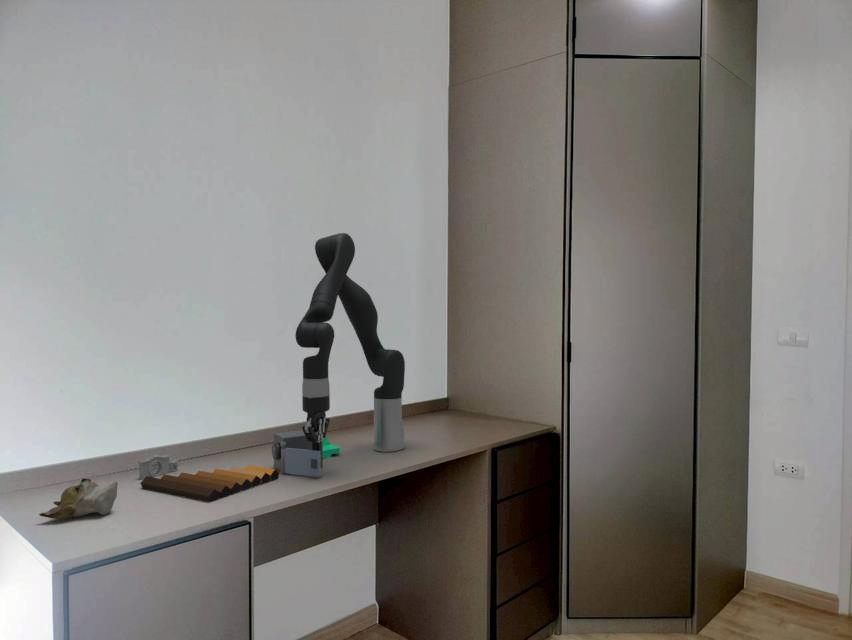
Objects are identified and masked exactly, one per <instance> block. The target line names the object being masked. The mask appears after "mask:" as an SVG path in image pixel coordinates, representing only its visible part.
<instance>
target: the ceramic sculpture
mask: <svg viewBox="0 0 852 640" xmlns="http://www.w3.org/2000/svg"><path fill="white" fill-rule="evenodd" d="M118 485H119V483H118V481H114V482H112V483H108V484H106V485H99V484H97V483H96V481H94V480H92V479H90V478H82V479H81V481H80V482H79V483H75V484H72V485H69V486H67V488H65V489H64V490H63V492H62V493H61V496H60V501H57V500H55V501H53V505H55V506H54V507H52V508H50V509H49V510H48V511H45V512H41V513H39V514H38V515H39V516H40V517H42V518H43V517H45V518H48V519H54V520H57V519H58V520H61V519H64V518H68V517H71V518H73V517H74V518H75V517H76V518H77V517H78V518H79V517H85V516H87V515H89V514H93V513H99V514H100V515H103V516H104V515H108V514H109V513H110V512H111V511H112V509H113V506H114V503H115V500H116V499H117V497H118Z"/></svg>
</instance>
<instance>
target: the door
mask: <svg viewBox="0 0 852 640" xmlns="http://www.w3.org/2000/svg"><path fill="white" fill-rule="evenodd" d="M280 473H281V474H292V475H301V476H306V477H307V476H308V477H317V478H319V477H321V468H320V451H316V450H306V449H295V448H285V447H282V448H281V471H280Z"/></svg>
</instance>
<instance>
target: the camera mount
mask: <svg viewBox="0 0 852 640" xmlns="http://www.w3.org/2000/svg"><path fill="white" fill-rule="evenodd" d="M339 453H341V447H340V446H336V445H334V444H331V443H330V441H329V439H328V438H327V435H326V436H325V438H323V459H328V458H332V455H335V454H339Z"/></svg>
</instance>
